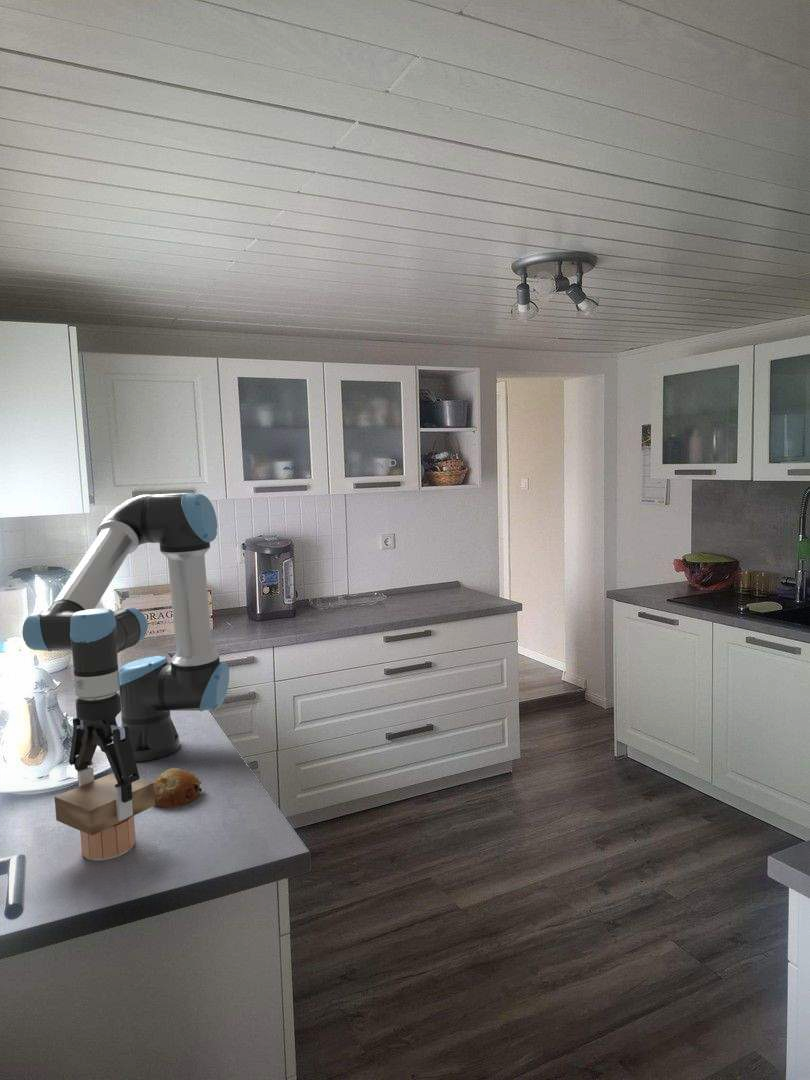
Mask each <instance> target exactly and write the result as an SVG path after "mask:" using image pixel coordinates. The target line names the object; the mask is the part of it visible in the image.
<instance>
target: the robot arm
mask: <svg viewBox="0 0 810 1080" xmlns="http://www.w3.org/2000/svg"><path fill="white" fill-rule="evenodd" d="M217 536H218V518H217V514H216V511H215V507H214V506H213V503H212V502H211V501H210V499H209V498H208V497H207V496H206V495H204V494H201V493H191V492H183V493H182V492H181V493H162V494H141V495H137V496H135V497H132V498H130V499H127V500H125V502H123V503H122V504H120V505H118V506H117V507H116V508H114V509H113V510H112V511H111V512H110V513H109V514H107V516H106V517H105V518H104V519H103V520H102V521H101V523H100V525H99V526H98V527H97V529H96V537H97V538H96V539H95V540H94V542H93V543H92V545H91V546H90V547H89V549H88V550H87V552H86V554H85V555H84V556H83V557H82V559H81V561H80V563H79V564H78V566H77V567H76V568H75V570H74V571H73V573H72V574H71V575H70V576H69V578H68V580H67V582H66V583H65V585H64V586H63V587H62V589H61V590H60V592H59V593H58V595H57V596H56V597H55V599H54V601H53V602H52V604H51V605H50V606H49V608H48V609H47V610H46V611H45V612H44V611H41V610H40V611H39V612H38V611H37V612H33V613H31V614H29V615H28V616H26V619H25V620H24V623H23V624H22V625H23V626H22V631H21V632H22V638H23V641H24V643H25V645H26V646H27V648H29V649H31V650H34V651H43V652H44V651H46V652H55V651H60V652H61V651H71V654H72V665H73V678H74V680H73V681H74V683H73V687H74V693H75V696H76V697H77V698H76V699H75V712H76V717H75V718H74V717H73V718H72V726H73V727H72V728H73V731H72V738H71V744H70V751H69V758H68V763H69V766H74V769H75V771H77V781H78V787H79V786H82V785H84V784H87V783H89V782H92V781H94V780H95V776H94V767H93V766H92V765H94V762H93V758H94V756H95V752H96V749H97V747H99V748H100V751H101V752H102V753H104V754H105V756H106V758H107V761H108V763H109V765H110V767H111V771H112V773H114V775H115V778H116V780H117V782H118V783H117V784H116V785H115V795H116V808H117V820H118V821H121V820H123V819H126V818H128V817H130V816H132V815H133V807H132V782H134V781H137V780H139V778H140V774H139V770H138V766H137V762H147V761H153V760H157V759H161V758H164V757H166V756H169V755H171V754H173V753H174V752H176V751H178V749H179V748H180V745H181V744H180V735H179V734H178V731H177V729H176V726H175V724H174V722H173V720H172V717H171V715H172V714H171V711H176V712H177V711H178V712H179V711H181V712H182V711H186V712H187V711H193V712H194V711H195V712H197V711H198V712H199V711H200V712H204V711H214V710H217V709H219V708H220V707H221V706H222V705H223V703H224V701H225V699H226V695H227V693H228V689H229V685H230V668H229V665H228V664H227V663H226V662H224V661H220V660H221V659H220V653H219V652H218V651H217V650H216V649H214V648H213V642H212V628H211V619H210V618H211V615H210V606H209V605H210V604H209V593H208V582H207V581H208V580H207V569H206V559H205V558H206V557H205V556H206V553H207V552H208V551H209V550H210V549H211V542H213V541H215V540H216V539H217ZM148 543H149V544H152V543H153V544H157V543H158V544H159V552H160V553H162V554H163V555H164V556H165V557H166V558H167V567H168V577H169V587H170V588H169V589H170V598H171V599H170V600H171V608H172V618H173V629H174V630H173V631H174V641H175V654H174V655H173V656H171V659H170V663H168V662H169V660H168V658H167V657H166V656H163V655H155V656H148V657H144V658H139V659H136V660H134V661H130V662H127V663H125V664H124V665H123V666H121V667H120V669H119V665H118V664H119V663H118V662H119V661H118V660H119V659H118V653H120V652H123V651H125V650H126V649H129V648H131V647H134V646H135V645H137V644H138V643H139V642H141V640H143V639H144V638H145V636H146V635H147V632H148V628H149V627H148V619H147V617H146V616H145V614H144V613H143V612H142V611H140V609H137V608H135V607H125V608H123V607H122V608H118V609H116V610H112V609H110V608H106V607H105V608H104V607H103V608H101V607H100V608H96V607H97V606H98V604H99V603H100V600H102V597H103V596H104V594H105V592H106V591H107V589H108V588H109V586H110V584H111V582H112V581H113V579H114V578H115V576H116V574H117V573H118V571H119V570H120V568H121V566H122V564H123V563H124V562H125V559H126V558H127V556H128V555H131V554H133V553H134V552H135V551H136V550H137V549H138V547H139V546H141V545H143V544H148ZM119 714H120V715H121V716H120V717H121V725H120V726H119V725H118V723H117V720H116V719H117V718H116V717H117V716H118V715H119ZM122 777H123V778H122Z"/></svg>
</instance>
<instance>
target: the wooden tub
mask: <svg viewBox="0 0 810 1080" xmlns="http://www.w3.org/2000/svg"><path fill="white" fill-rule="evenodd" d="M135 826H136V825H135V815H134V816H132V817H130V818H128V819H126V820H124V821H122V822H120V823H118V824H116V825H113V826H111V827H109V828H107V829H105V830H103V831H101V832H99V833H97V834H95V835H92V836H91V835H89V834H87V833H84V832H82V831H80V830H79V831H80V843H81V844H80V845H81V847H80V848H81V854H82V856H83V857H84V858H85V859H86V860H88V861H89V860H90V861H96V862H98V861H107V860H112V859H115V858H119V857H120V856H123V855H125V854H126V853H128V852H129V851H131V850H132V849H133V847H134V846H135V844H136V842H137V841H136V840H137V839H136V827H135Z"/></svg>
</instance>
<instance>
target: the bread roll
mask: <svg viewBox="0 0 810 1080" xmlns="http://www.w3.org/2000/svg"><path fill="white" fill-rule="evenodd" d="M199 779H200V778H199V777H198V776H196V775H194V774H192V773H191V772H190V771H187V770H182V769H181V768H179V767H177V768H176V767H172V768H169V769H167V770H164V771H163V772H162V773H161V774H159V775H158V776H157V777H156V779H155V780H154V781H152V782H153V783H154V798H155V807H160V808H172V807H179V806H183V805H184V806H185V805H186V804H189V803H192V802H193V801H194V800H196V799H197V797H198V796H199V794H200V793H201V792H202V790H203V788H201V786H200V785H202V781H201V780H199Z"/></svg>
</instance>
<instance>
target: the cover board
mask: <svg viewBox="0 0 810 1080" xmlns="http://www.w3.org/2000/svg"><path fill="white" fill-rule="evenodd" d="M122 778H123V777H122ZM153 782H154V781H150V780H146V779H144V778H139V780H137V781H134V782H132V807H133V815H132V816H134V817H135V816H136V815H138V814H141V813H142V812H145V811H147V810H149V809H151V808H153V807H156V805H155V798H154V783H153ZM117 783H118V782H117V780H116V778H115V775H114V773H113V772H111V773H109V774H107V775H104V776H101V777H99V778H97V779H94V781H92V782H89V783H87V784H84V785H82V786H79V785H78V787H75V788H73V789H70V790H68V791H65V792H63V793H60V794H57V795H55V796H54V808H55V818H56V819H55V820H56V822H59V823H61V824H64V825H66V826H68V827H70V828H73V829H74V830H75V829H76V830H78V831H82V832H84V833H87V834H89V835H91V836H92V835H95V834H97V833H99V832H101V831H103V830H105V829H107V828H109V827H111V826H113V825H116V824H118V823H120V822H122V821H124V820H126V819H128V818H130V817H132V816H130V817H128V818H126V819H123V820H121V821H118V820H117V808H116V795H115V785H116V784H117Z"/></svg>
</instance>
